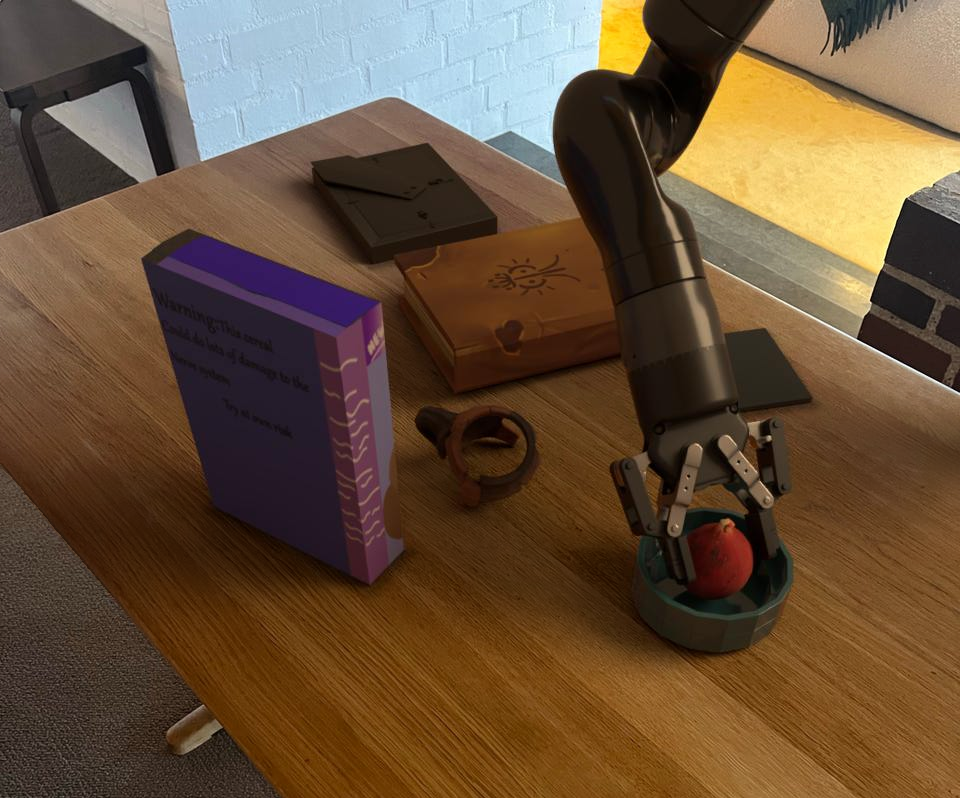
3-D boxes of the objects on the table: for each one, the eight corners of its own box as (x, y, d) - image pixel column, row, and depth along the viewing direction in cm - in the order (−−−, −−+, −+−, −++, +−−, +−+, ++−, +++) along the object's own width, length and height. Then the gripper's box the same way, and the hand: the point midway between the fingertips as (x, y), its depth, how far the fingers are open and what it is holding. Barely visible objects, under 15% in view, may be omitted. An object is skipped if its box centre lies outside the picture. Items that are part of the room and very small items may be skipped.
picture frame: (313, 184, 125) (372, 264, 113) (310, 161, 123) (370, 240, 111) (428, 158, 129) (497, 233, 117) (427, 136, 127) (497, 210, 115)
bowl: (747, 536, 85) (758, 497, 82) (804, 642, 78) (819, 604, 74) (613, 557, 84) (618, 519, 80) (658, 668, 76) (666, 631, 73)
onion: (725, 631, 78) (746, 561, 72) (658, 602, 80) (673, 531, 74) (753, 584, 81) (775, 513, 75) (688, 558, 83) (704, 486, 77)
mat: (764, 332, 104) (765, 327, 104) (811, 402, 97) (813, 397, 96) (636, 349, 102) (637, 344, 102) (674, 421, 95) (675, 416, 95)
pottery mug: (547, 448, 93) (561, 415, 85) (510, 537, 92) (521, 513, 84) (429, 398, 93) (432, 361, 85) (390, 487, 92) (389, 458, 84)
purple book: (404, 551, 84) (380, 299, 66) (370, 586, 82) (335, 334, 63) (249, 476, 90) (188, 225, 72) (213, 507, 88) (140, 255, 69)
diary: (458, 400, 96) (455, 348, 92) (397, 305, 108) (393, 255, 103) (668, 347, 101) (675, 296, 97) (589, 262, 113) (592, 212, 109)
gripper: (607, 367, 68) (666, 599, 71) (785, 321, 72) (836, 544, 74) (569, 387, 76) (623, 597, 78) (733, 344, 79) (780, 547, 81)
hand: (727, 570), depth 76 cm, fingers open, 6 cm apart
